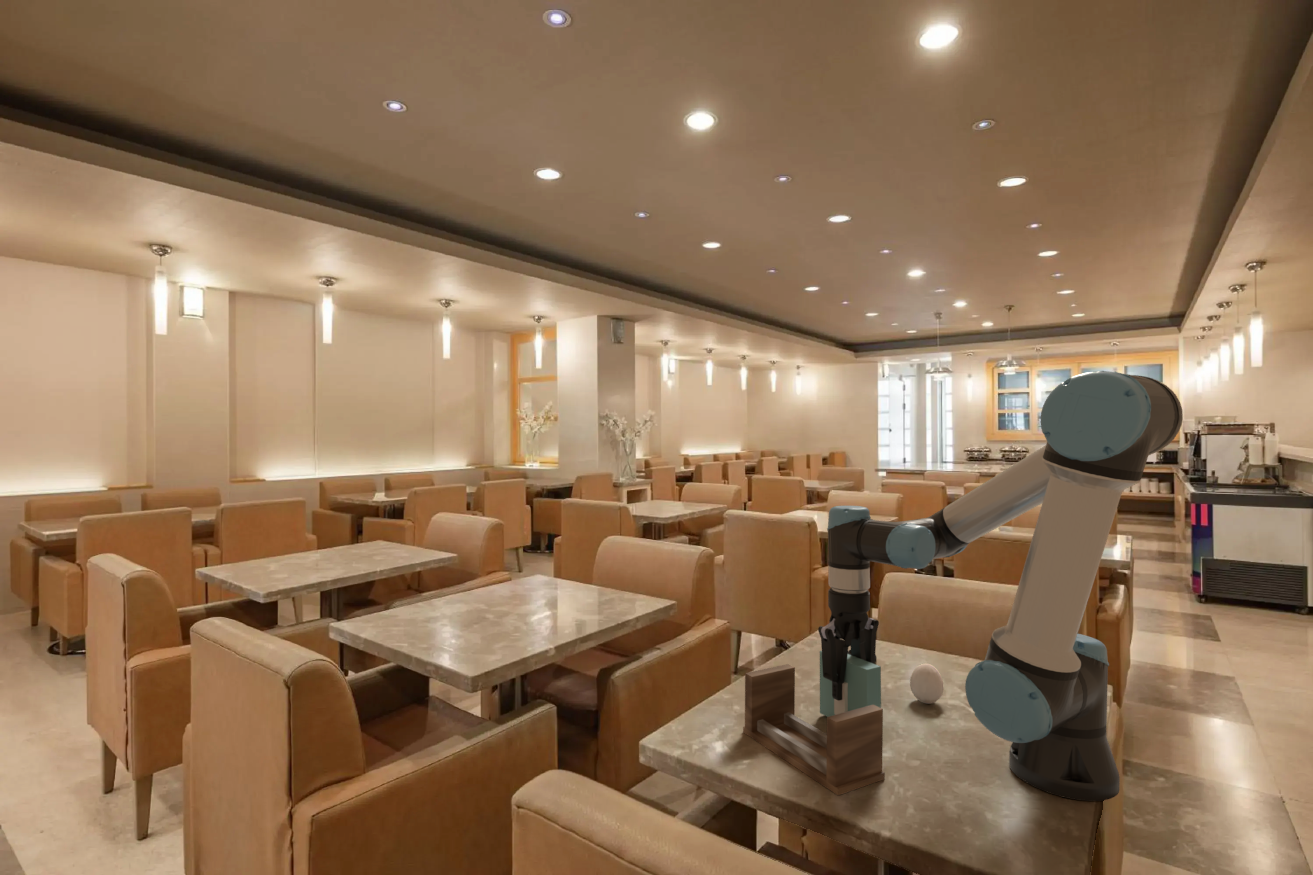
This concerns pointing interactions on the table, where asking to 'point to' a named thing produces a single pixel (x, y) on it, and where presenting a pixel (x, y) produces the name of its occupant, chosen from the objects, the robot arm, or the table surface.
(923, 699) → the egg
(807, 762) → the wooden desk organizer
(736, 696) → the table surface
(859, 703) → the green rectangular box
